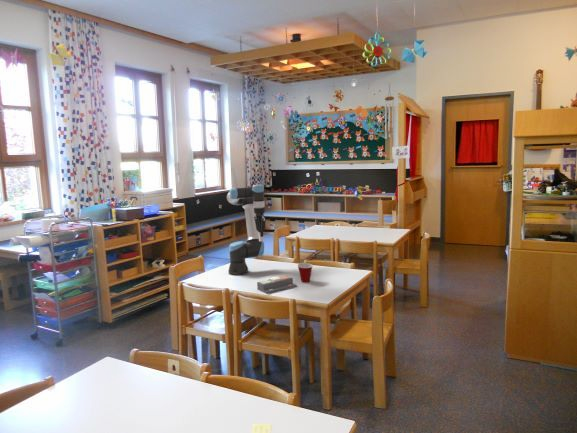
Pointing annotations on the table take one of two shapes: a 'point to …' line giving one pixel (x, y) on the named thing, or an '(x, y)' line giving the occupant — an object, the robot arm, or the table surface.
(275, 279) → the cream key
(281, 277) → the terracotta key
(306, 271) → the plastic cup
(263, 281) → the sage key
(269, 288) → the keypad
